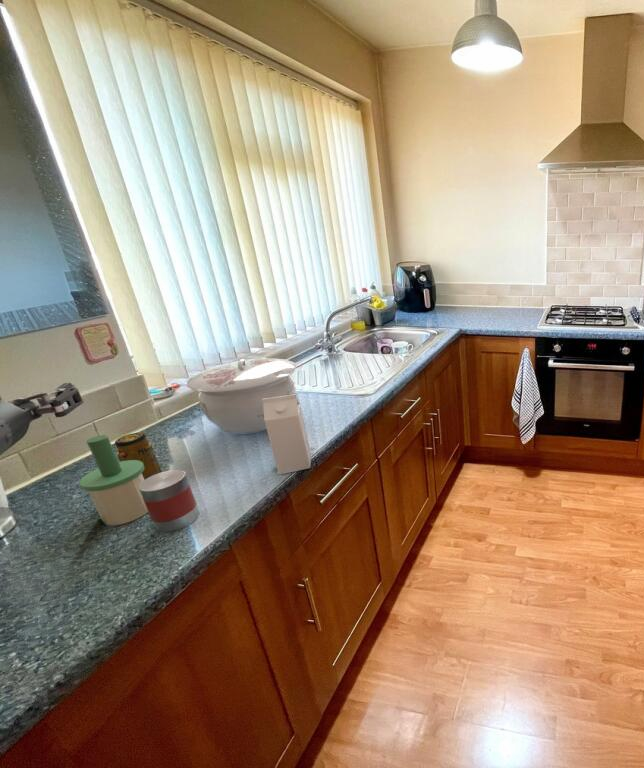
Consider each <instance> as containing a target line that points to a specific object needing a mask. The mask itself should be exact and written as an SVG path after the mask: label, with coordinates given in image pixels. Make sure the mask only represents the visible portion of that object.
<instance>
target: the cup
mask: <svg viewBox="0 0 644 768" xmlns="http://www.w3.org/2000/svg"><path fill="white" fill-rule="evenodd" d="M143 481H144V478H143V475H142V473H141V474H140V475H139V476H138V477H136V478H134V479H133V480H131V481H129V482H127V483H124V484H122V485H119V486H116V487H113V488H109V489H105V490H100V491H87V492H88V495H89V496H90V498H91V501H92V503H93V505H94V507H95V509H96V511H97V514H98V515H99V517H100V520H101V521H102V523H103V524H105V525H106V526H119V525H123V524H127V523H130V522H133V521H135V520H138V519H140V518H142V517H144V516H145V515H147V514H149V512H148V510H147V507H146V505H145V503H144V500H143V497H142V495H141V492H140V490H139V485H140V484H141V483H142V482H143Z"/></svg>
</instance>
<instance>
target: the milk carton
mask: <svg viewBox="0 0 644 768" xmlns="http://www.w3.org/2000/svg"><path fill="white" fill-rule="evenodd" d="M262 400H263V407H264V421H265V425H266V429H267V430H266V432H267V436H268V439H269V440H268V441H269V443H270V447H271V450H272V456H273V459H274V463H275V466H276V470H277V473H278V475H284V474H285V475H286V474H289V473H294V472H299V471H303V470H308V469H311V464H312V450H311V447H310V442H309V438H308V433H307V429H306V425H305V420H304V415H303V411H302V410H303V409H302V406H301V403H300V401H299V399H298V396H297V393H296V394H293V395H286V396H279V397H273V398H266V399H262Z"/></svg>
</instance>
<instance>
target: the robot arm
mask: <svg viewBox="0 0 644 768" xmlns="http://www.w3.org/2000/svg"><path fill="white" fill-rule="evenodd" d="M52 397H54V398H52ZM33 400H37V403H36V402H34V401H33ZM82 404H84V400H83V397H82V396H81V393H80V391H79V389H78V387H76V386H75V384H73V383H71V382H63V383H62V384H61V385H59V386H58V387H56V388H55V389H53V390H50V391H48V392H41V391H36V392H33V393H30V394H27V395H22V396H20V397H10V398H7V399H4V400H3V399H2V397H1V396H0V456H1V455H3V454H5V453H6V452H7V451H8V450H9V449H11V448H12V447H13V446H14V445H16V444H17V443H18V442H19V441H21V440H22V439H23V438H24V437H25V436H26V434H27V432H28V431H29V427H30V425H31V423H32V422H33V421H35V420H37V419H40V418H43V417H46V416H48V415H51V414H53V415H54V416H55V418H63V417H66V416H67V415H68V414H70V413H72V412H73V411H75V409H77V408H78V407H80V406H81V405H82Z"/></svg>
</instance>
